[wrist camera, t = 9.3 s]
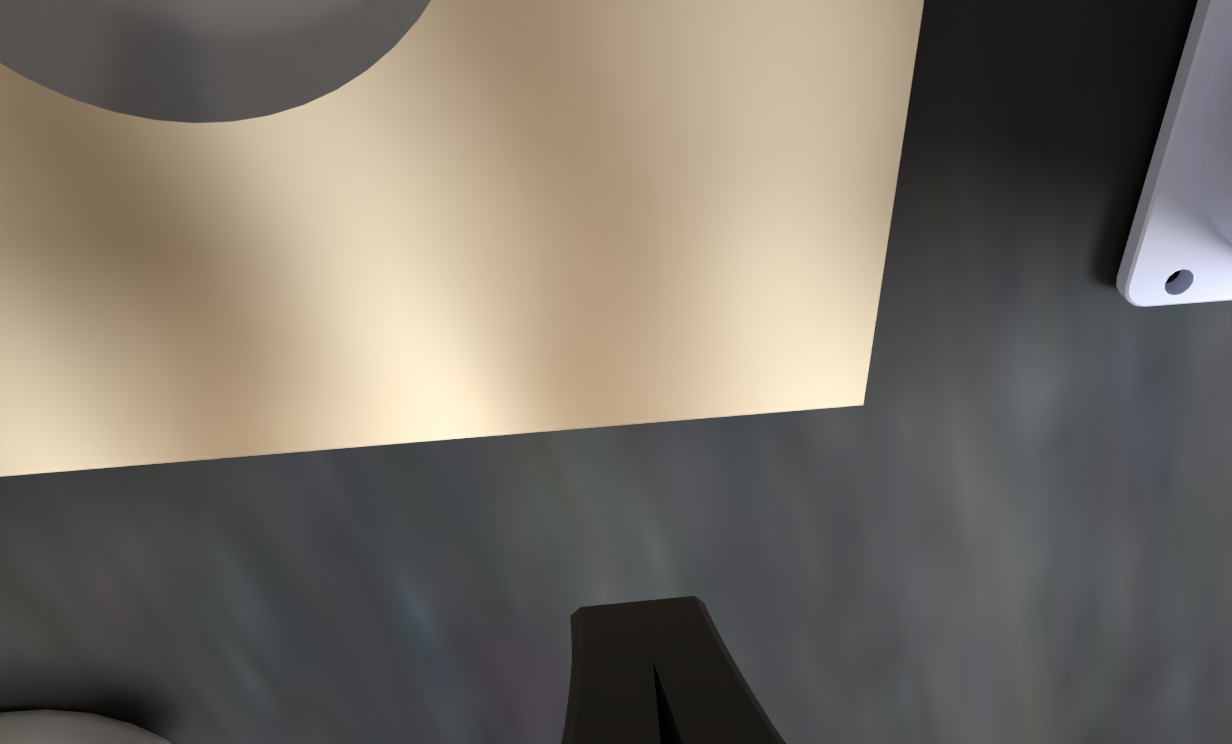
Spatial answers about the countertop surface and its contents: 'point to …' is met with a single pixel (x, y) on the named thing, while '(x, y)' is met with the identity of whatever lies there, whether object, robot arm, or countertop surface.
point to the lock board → (461, 237)
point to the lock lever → (199, 51)
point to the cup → (70, 729)
